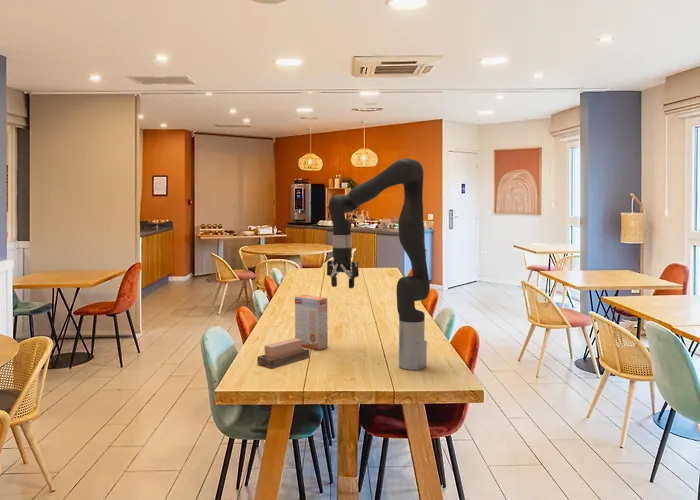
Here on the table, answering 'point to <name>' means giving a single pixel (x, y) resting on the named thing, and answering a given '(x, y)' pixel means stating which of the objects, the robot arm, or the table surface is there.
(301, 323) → the cracker box
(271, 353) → the clay strip
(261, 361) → the tray
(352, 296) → the table surface
